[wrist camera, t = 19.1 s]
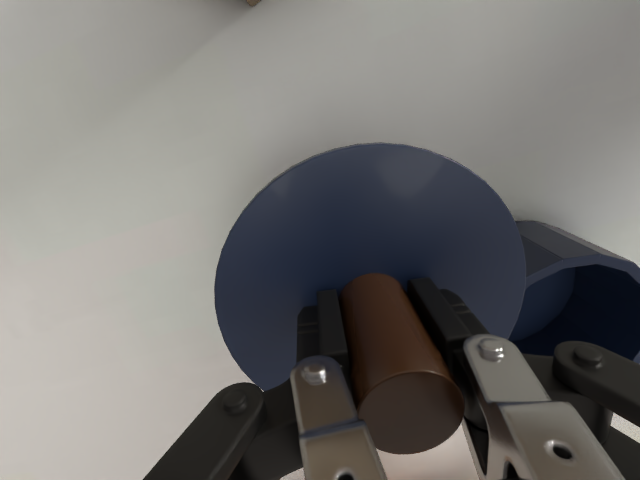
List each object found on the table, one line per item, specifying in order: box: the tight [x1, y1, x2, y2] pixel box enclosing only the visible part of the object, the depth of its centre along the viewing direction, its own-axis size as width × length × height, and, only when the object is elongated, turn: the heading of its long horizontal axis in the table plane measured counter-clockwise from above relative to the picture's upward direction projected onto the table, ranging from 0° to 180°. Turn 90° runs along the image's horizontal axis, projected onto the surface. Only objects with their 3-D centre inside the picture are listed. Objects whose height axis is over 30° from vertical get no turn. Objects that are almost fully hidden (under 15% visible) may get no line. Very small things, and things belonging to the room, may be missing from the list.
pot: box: [507, 221, 640, 364], centre depth 23 cm, size 10×10×6 cm
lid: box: [214, 143, 526, 454], centre depth 11 cm, size 11×11×6 cm
